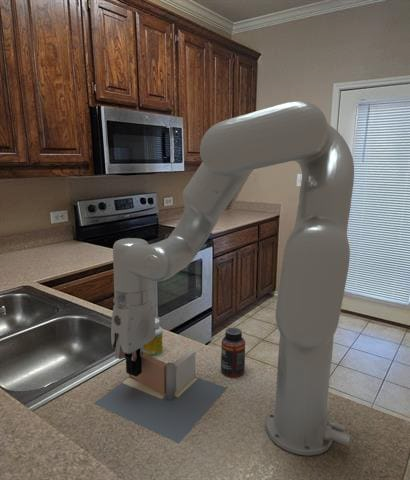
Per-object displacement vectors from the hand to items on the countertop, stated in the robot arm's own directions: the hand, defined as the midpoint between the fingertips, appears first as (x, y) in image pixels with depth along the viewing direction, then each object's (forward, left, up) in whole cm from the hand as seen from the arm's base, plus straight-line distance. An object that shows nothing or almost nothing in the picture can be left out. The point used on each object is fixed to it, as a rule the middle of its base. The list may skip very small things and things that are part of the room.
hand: (134, 373), depth 80 cm
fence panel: (-1, -3, -4) cm, 5 cm away
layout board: (-7, -2, -5) cm, 8 cm away
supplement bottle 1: (+7, -16, -5) cm, 18 cm away
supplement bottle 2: (-16, -19, -5) cm, 25 cm away
